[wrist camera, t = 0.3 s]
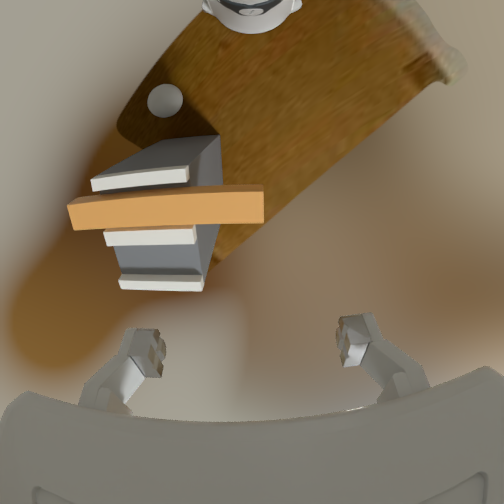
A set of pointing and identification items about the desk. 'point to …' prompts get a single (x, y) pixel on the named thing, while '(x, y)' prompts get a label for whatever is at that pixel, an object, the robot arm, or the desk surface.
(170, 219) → the orange flat bar
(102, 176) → the block
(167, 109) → the lightbulb
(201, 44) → the desk surface
